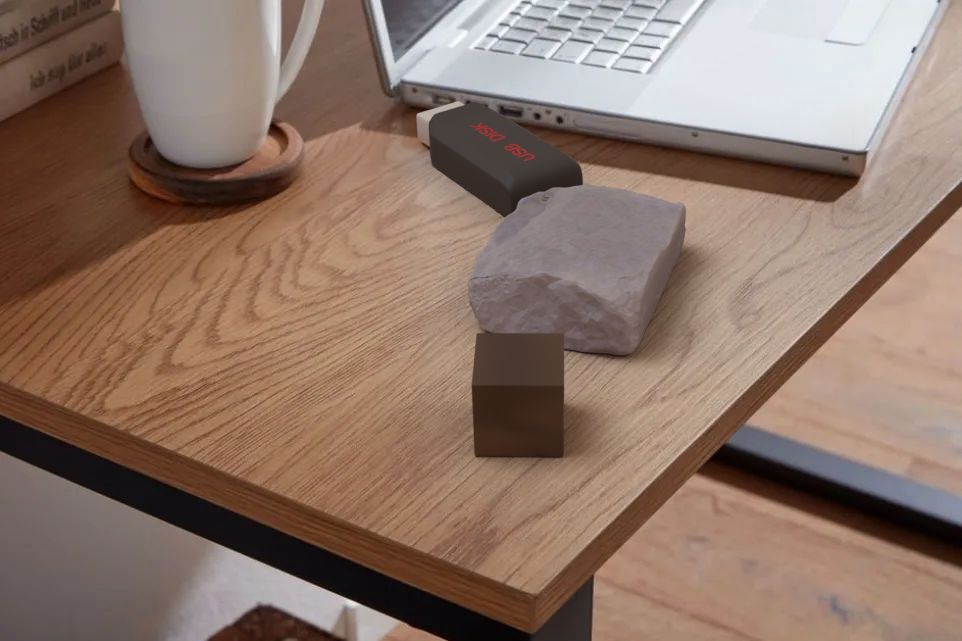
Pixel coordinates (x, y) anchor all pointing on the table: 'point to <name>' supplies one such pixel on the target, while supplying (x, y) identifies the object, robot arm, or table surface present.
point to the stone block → (579, 266)
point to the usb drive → (493, 155)
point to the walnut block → (518, 394)
